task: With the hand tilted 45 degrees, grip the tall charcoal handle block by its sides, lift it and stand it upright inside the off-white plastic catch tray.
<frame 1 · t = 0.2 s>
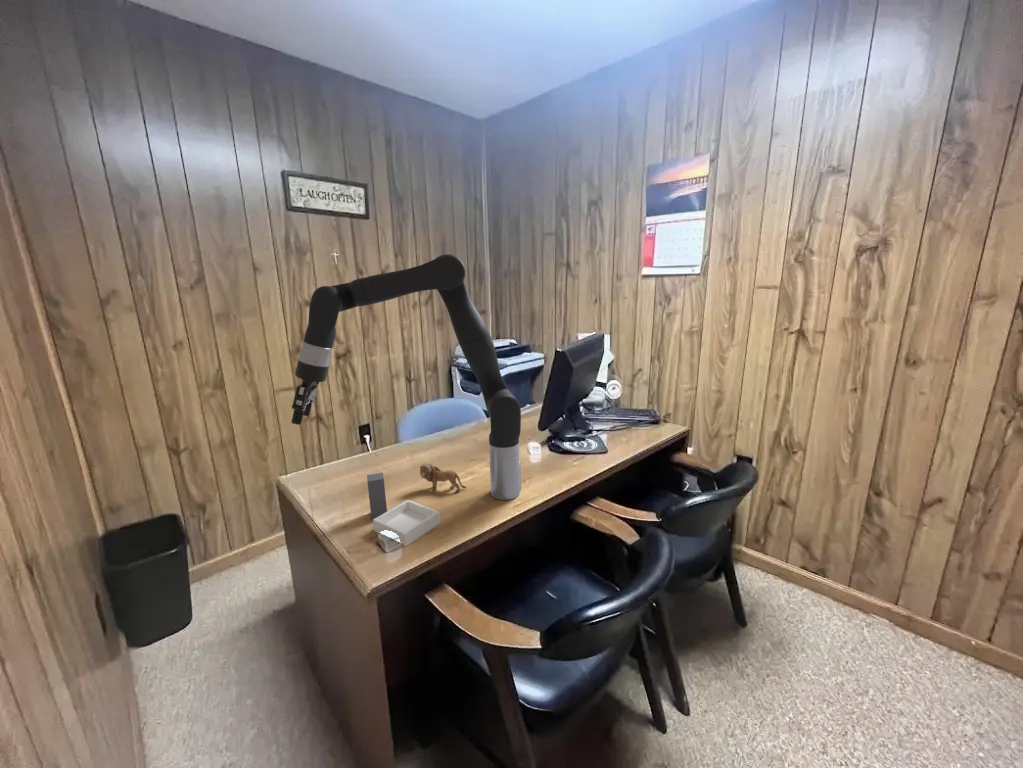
hand: (300, 419, 112), 31 cm above the table, tool tilted 20°, fingers open, 8 cm apart
lion figurine: (442, 490, 137), on the table
handle block: (379, 514, 123), on the table
catch tray: (407, 527, 116), on the table
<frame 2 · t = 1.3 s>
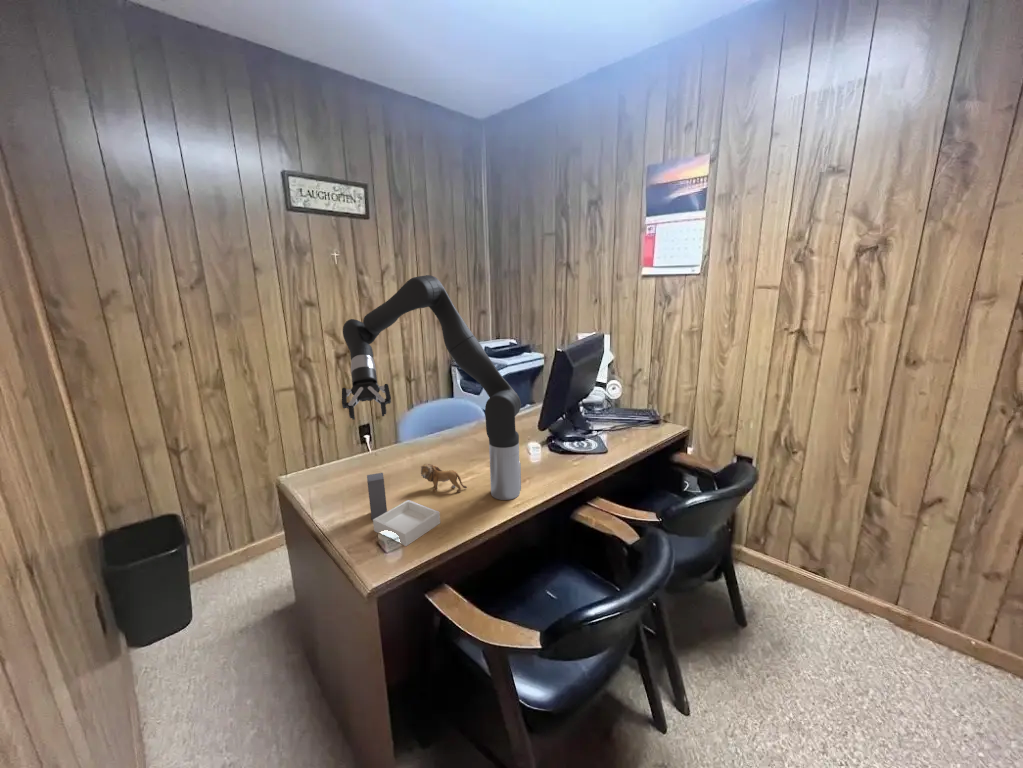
hand: (368, 416, 127), 27 cm above the table, tool tilted 45°, fingers open, 8 cm apart
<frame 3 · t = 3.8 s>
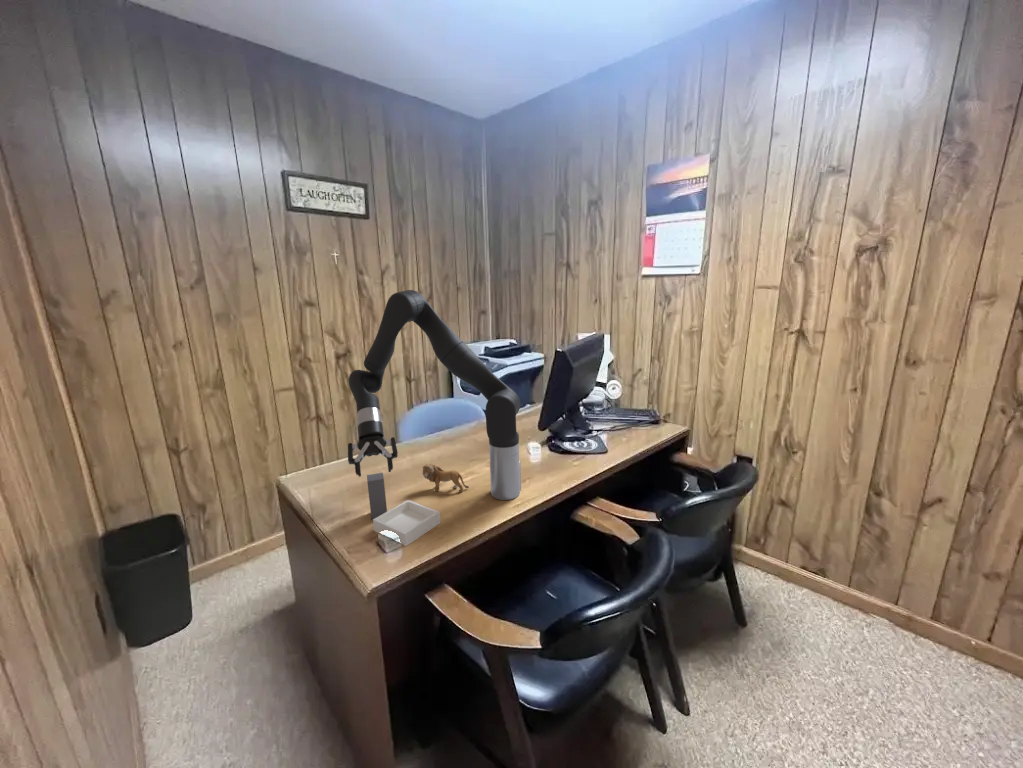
hand: (375, 473, 125), 11 cm above the table, tool tilted 45°, fingers open, 8 cm apart
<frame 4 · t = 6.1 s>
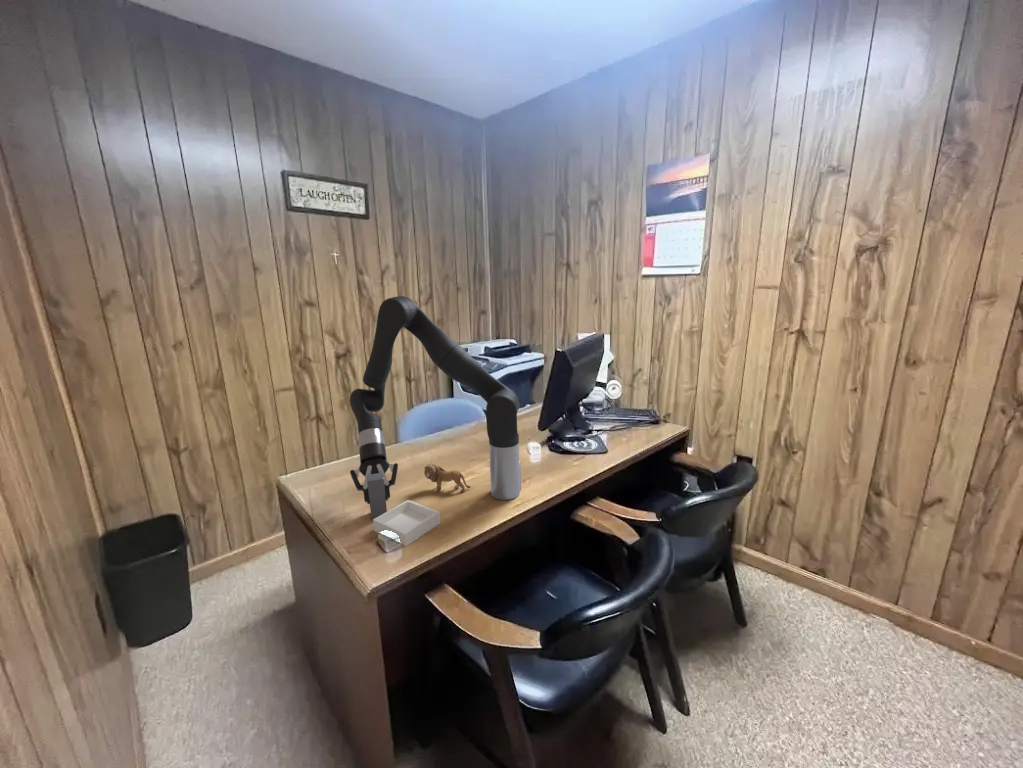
hand: (377, 501, 120), 5 cm above the table, tool tilted 45°, fingers closed on handle block, 4 cm apart
handle block: (379, 514, 123), on the table, touching gripper
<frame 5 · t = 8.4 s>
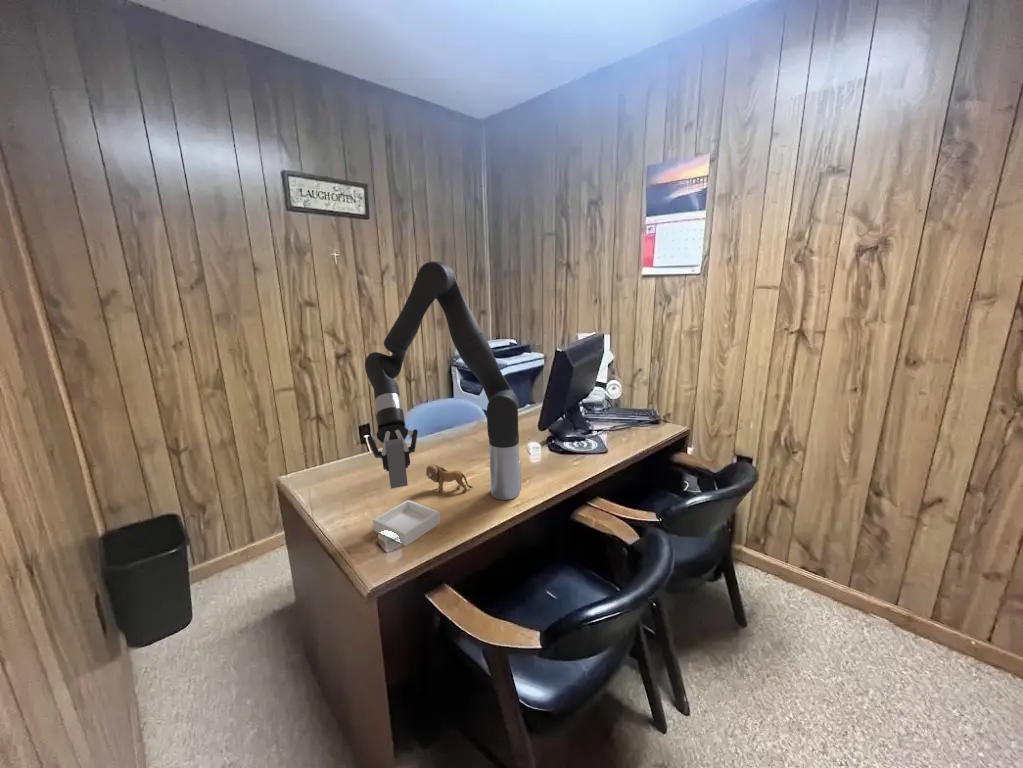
hand: (397, 468, 112), 18 cm above the table, tool tilted 45°, fingers closed on handle block, 4 cm apart
handle block: (398, 483, 115), point 12 cm above the table, touching gripper
when the fingers open (8 cm above the table, at t = 11.0 s): handle block drops 1 cm, resting on catch tray.
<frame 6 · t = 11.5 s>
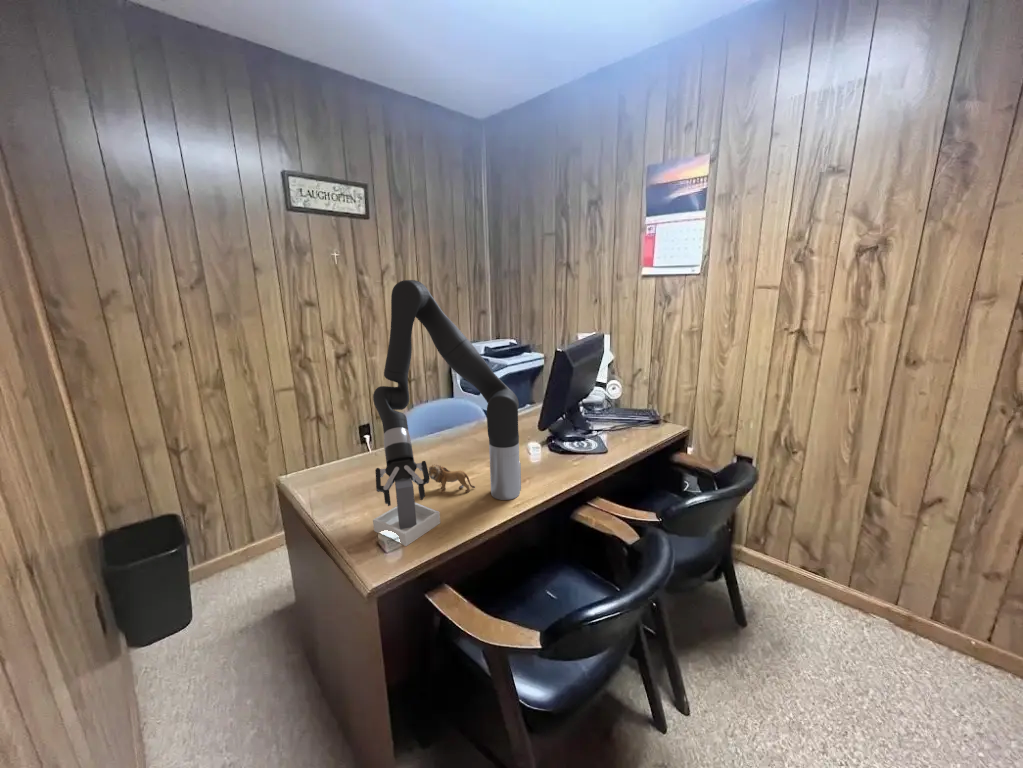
hand: (405, 502, 113), 8 cm above the table, tool tilted 45°, fingers open, 8 cm apart
handle block: (407, 523, 116), point 1 cm above the table, touching catch tray
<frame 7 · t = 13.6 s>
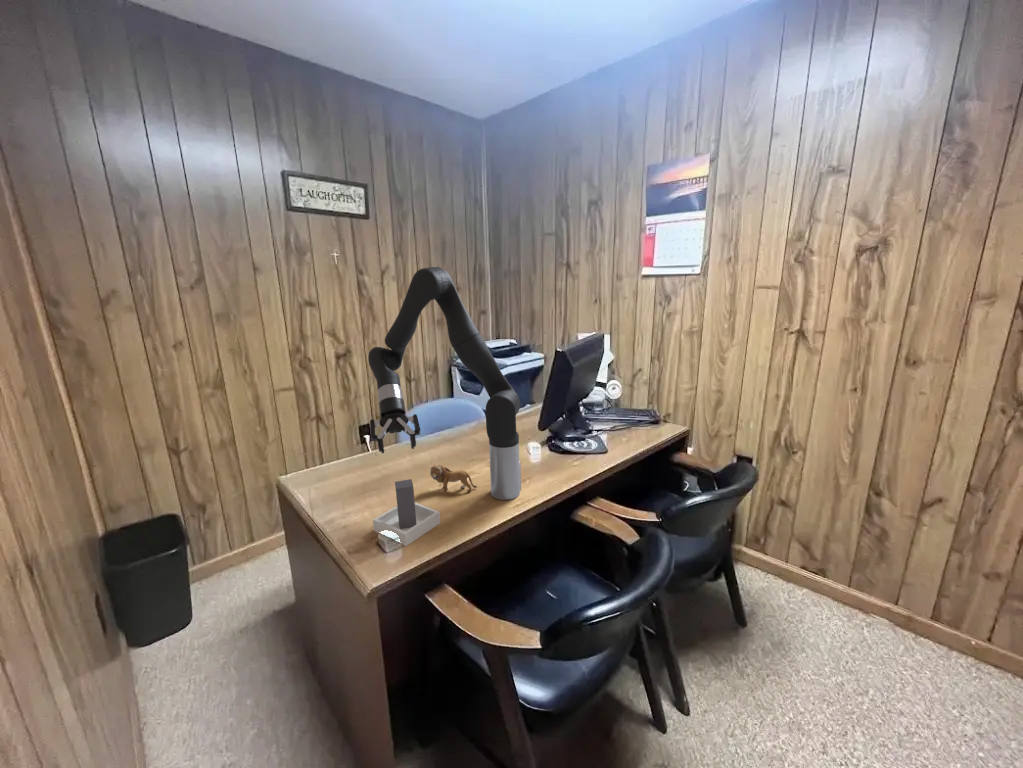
hand: (398, 450, 122), 18 cm above the table, tool tilted 45°, fingers open, 8 cm apart
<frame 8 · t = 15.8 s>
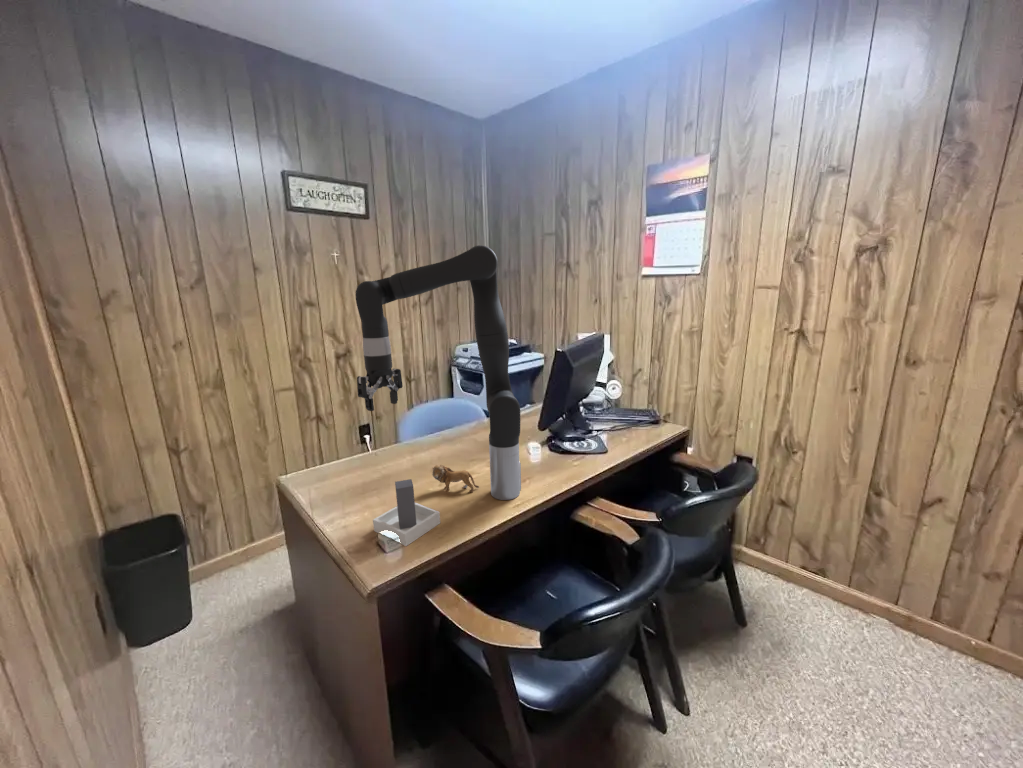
hand: (382, 406, 124), 30 cm above the table, tool pointing down, fingers open, 8 cm apart
at the end: handle block inside the target area on the catch tray (0.1 cm from its centre), point 1.0 cm above the catch tray's base; handle block tilted 0°; the gripper is holding nothing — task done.
